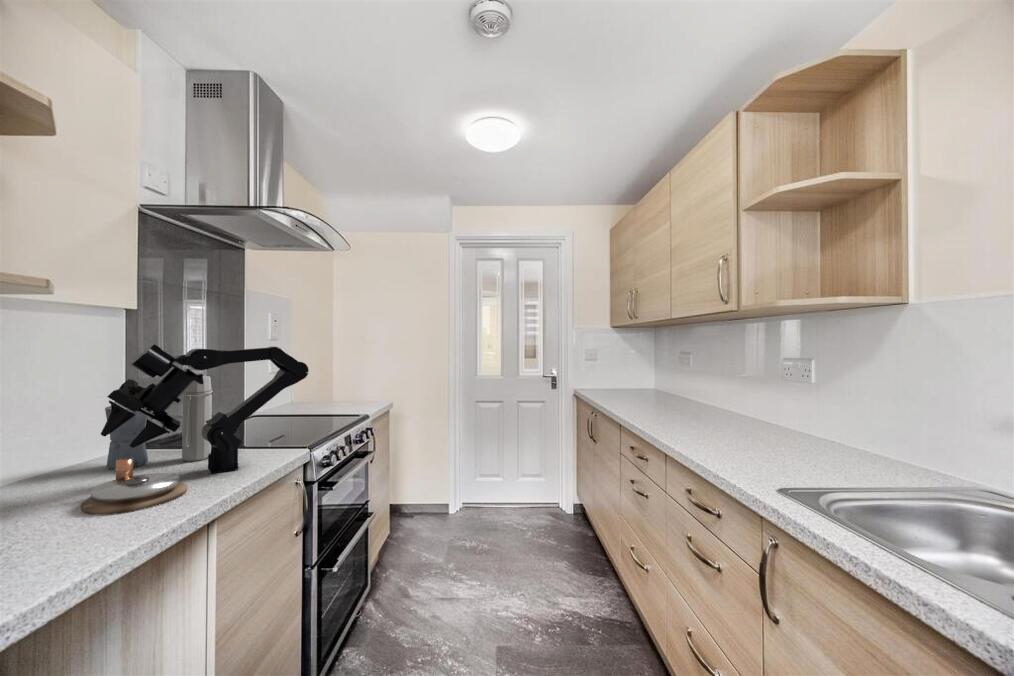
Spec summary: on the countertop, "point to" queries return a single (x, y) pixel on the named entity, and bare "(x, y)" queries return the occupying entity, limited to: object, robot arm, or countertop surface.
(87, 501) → the wheel base
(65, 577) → the countertop surface
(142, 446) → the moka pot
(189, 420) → the water bottle
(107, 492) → the handwheel
